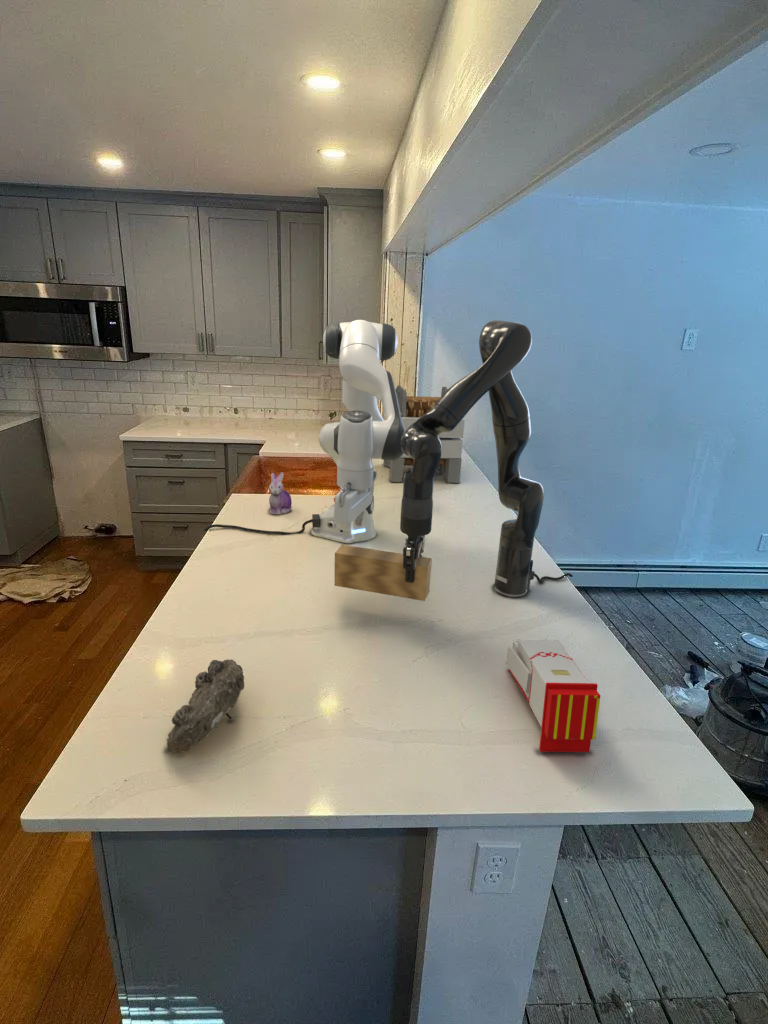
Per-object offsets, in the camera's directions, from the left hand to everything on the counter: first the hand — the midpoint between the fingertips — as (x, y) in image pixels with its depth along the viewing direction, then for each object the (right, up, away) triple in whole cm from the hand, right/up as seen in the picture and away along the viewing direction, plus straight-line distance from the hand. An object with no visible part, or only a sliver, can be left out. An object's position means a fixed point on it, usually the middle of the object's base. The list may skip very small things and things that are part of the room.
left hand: (353, 531), depth 144 cm
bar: (+7, -15, +1) cm, 16 cm away
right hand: (+15, -11, -3) cm, 19 cm away
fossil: (-25, -34, -36) cm, 55 cm away
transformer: (+25, +24, +131) cm, 136 cm away
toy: (+40, -34, -28) cm, 60 cm away
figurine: (-32, +5, +73) cm, 79 cm away
